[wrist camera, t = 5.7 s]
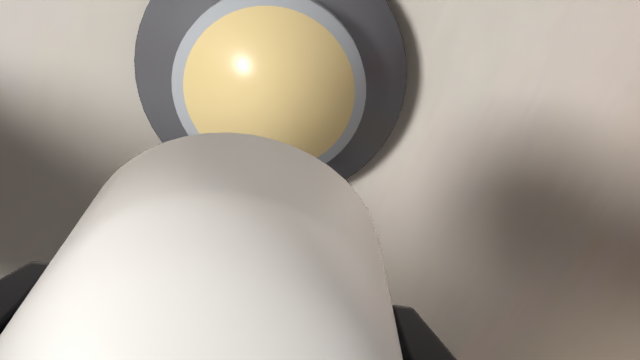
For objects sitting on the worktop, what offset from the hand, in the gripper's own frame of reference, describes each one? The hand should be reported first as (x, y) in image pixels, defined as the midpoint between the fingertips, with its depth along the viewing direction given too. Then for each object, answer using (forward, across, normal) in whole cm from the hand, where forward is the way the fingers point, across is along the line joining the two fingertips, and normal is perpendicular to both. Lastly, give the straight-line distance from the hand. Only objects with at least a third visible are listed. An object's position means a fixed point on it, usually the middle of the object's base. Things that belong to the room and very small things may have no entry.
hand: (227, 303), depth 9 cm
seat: (+13, 0, 0) cm, 13 cm away
